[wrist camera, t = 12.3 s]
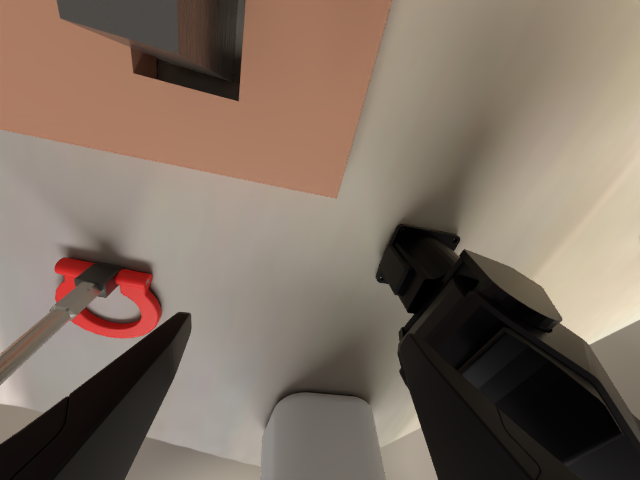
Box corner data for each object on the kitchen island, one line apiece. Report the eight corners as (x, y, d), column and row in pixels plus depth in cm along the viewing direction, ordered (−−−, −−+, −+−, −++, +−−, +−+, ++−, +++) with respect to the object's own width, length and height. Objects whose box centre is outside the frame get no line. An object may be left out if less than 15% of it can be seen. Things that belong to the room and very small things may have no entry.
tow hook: (163, 334, 26) (164, 271, 21) (59, 510, 15) (19, 453, 10) (73, 321, 24) (55, 250, 19) (-123, 512, 13) (-266, 444, 8)
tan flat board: (410, -109, 12) (437, -159, 10) (331, 188, 19) (336, 198, 17) (-97, -365, 8) (-241, -542, 6) (42, 127, 15) (-1, 129, 13)
